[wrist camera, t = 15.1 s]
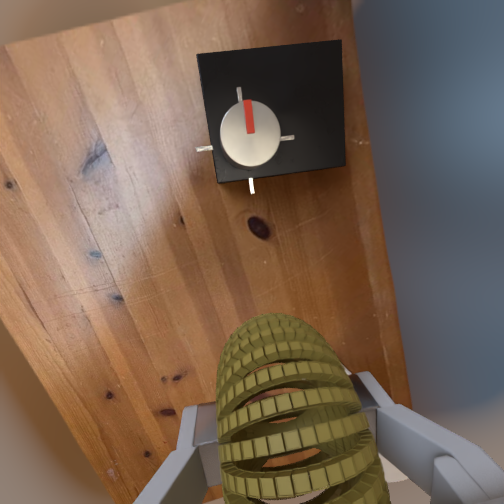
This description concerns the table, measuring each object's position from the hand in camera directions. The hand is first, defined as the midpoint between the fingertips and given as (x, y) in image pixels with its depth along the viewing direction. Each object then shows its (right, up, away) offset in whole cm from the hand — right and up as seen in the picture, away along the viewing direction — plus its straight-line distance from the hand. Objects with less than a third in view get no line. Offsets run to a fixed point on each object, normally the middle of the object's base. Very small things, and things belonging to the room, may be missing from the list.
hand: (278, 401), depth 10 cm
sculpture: (0, +1, +3) cm, 3 cm away
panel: (+1, +18, +15) cm, 24 cm away
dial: (-2, +15, +12) cm, 20 cm away
